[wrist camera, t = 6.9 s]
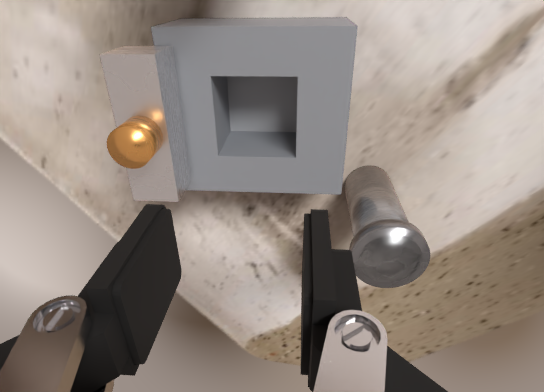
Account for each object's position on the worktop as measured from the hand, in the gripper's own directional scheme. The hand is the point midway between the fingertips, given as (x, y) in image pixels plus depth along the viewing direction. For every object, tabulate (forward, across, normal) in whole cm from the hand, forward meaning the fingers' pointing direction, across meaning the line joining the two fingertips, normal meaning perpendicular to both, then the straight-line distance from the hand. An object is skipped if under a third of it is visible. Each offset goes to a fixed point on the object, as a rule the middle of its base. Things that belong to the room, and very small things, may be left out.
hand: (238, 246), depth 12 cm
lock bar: (+13, +7, 0) cm, 15 cm away
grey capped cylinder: (+19, -8, +8) cm, 22 cm away
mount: (+19, +1, 0) cm, 19 cm away
